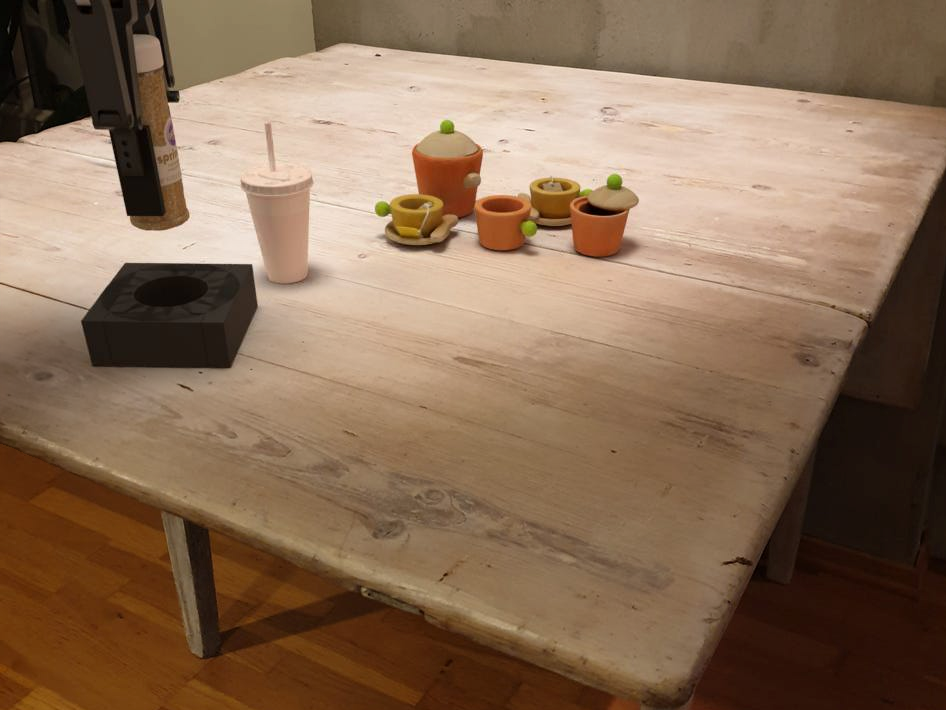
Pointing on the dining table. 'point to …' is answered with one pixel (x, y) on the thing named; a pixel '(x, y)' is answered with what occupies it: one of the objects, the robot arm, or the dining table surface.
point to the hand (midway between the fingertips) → (156, 201)
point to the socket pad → (171, 315)
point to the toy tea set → (500, 202)
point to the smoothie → (280, 214)
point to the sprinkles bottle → (159, 135)
